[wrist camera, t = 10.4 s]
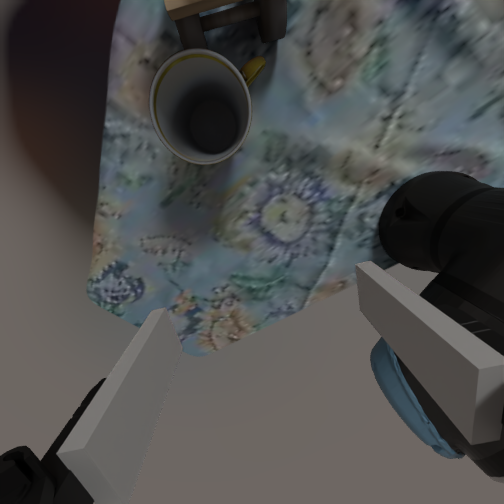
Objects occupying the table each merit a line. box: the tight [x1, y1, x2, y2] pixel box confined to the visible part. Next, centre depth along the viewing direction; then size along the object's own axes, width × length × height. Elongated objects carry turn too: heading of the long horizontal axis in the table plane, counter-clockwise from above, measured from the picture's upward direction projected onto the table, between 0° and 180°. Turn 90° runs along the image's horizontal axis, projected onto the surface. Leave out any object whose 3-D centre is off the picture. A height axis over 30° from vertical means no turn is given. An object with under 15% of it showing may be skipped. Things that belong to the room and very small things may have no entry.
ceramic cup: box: [149, 48, 266, 165], centre depth 27 cm, size 13×10×10 cm
